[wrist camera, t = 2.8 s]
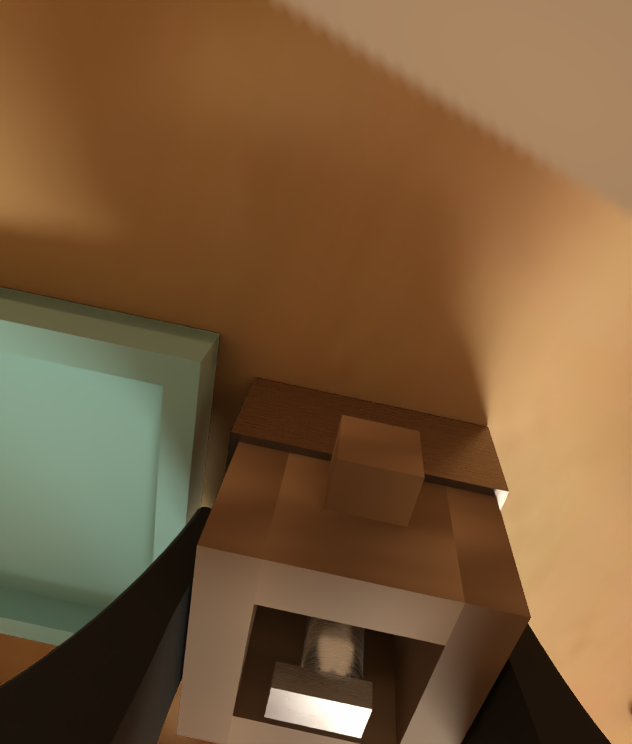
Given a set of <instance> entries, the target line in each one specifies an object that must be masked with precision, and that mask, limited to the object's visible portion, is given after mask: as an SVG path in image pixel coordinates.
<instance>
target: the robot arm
mask: <svg viewBox="0 0 632 744" xmlns="http://www.w3.org/2000/svg"><path fill="white" fill-rule="evenodd" d="M211 509H212V508H207V507H201V508H199V509H197V511H196V512H195V514H194V515H193V516H192V518H191V519H190V520H189V522H188V523H187V524H186V526H185V527H184V528H183V529H182V530H181V532H180V533H179V534H178V535H177V536H176V538H175V539H174V540H173V541H172V542H171V543H170V544H169V546H168V547H167V548H166V549H165V550H164V551H163V552H162V553H161V554H160V555H159V556H158V557H157V559H156V560H155V561H154V562H153V563H152V564H151V565H150V566H149V567H148V568H147V569H146V570H145V571H144V572H143V573H142V574H141V575H140V576H139V577H138V578H137V579H136V580H135V581H134V582H133V583H132V584H131V585H130V586H129V587H128V588H127V589H126V590H124V591H123V592H122V593H121V594H120V595H119V596H118V597H117V598H116V599H115V600H114V601H113V602H112V603H111V604H109V605H108V606H107V607H106V608H105V609H104V610H103V611H101V612H100V613H99V614H98V615H97V616H96V617H94V618H93V619H92V620H91V621H90V622H88V623H87V624H86V625H85V626H84V627H82V628H81V629H80V630H79V631H77V632H76V633H75V634H74V635H72V636H71V637H70V638H68V639H67V640H66V641H64V642H63V643H62V644H60V645H59V646H58V647H56V648H55V649H54V650H52V651H51V652H50V653H49V654H47V655H46V656H45V657H43V658H42V659H40V660H39V661H38V662H36V663H35V664H33V665H32V666H30V667H29V668H28V669H26V670H25V671H23V672H22V673H20V674H19V675H17V676H15V677H14V678H12V679H11V680H9V681H8V682H6V683H5V684H3V685H2V686H0V744H157V741H158V738H159V735H160V732H161V729H162V727H163V724H164V721H165V719H166V716H167V713H168V711H169V708H170V706H171V703H172V701H173V698H174V696H175V694H176V691H177V689H178V686H179V684H180V681H181V679H182V676H183V668H184V659H185V650H186V641H187V632H188V623H189V614H190V605H191V596H192V586H193V577H194V568H195V559H196V550H197V544H198V542H199V539H200V537H201V534H202V532H203V529H204V527H205V524H206V522H207V519H208V517H209V514H210V512H211ZM461 744H611V743H610V742H609V740H608V739H607V738H606V737H605V735H604V734H603V733H602V732H601V730H600V729H599V728H598V726H597V725H596V724H595V723H594V721H593V720H592V719H591V717H590V716H589V715H588V713H587V712H586V710H585V709H584V708H583V706H582V705H581V704H580V702H579V701H578V699H577V698H576V696H575V695H574V694H573V692H572V691H571V689H570V688H569V686H568V685H567V684H566V682H565V681H564V679H563V678H562V676H561V675H560V673H559V672H558V670H557V669H556V667H555V666H554V664H553V663H552V661H551V659H550V658H549V656H548V655H547V653H546V652H545V650H544V648H543V647H542V645H541V644H540V642H539V641H538V639H537V637H536V636H535V634H534V632H533V631H532V629H531V628H530V626H529V624H527V625H526V627H525V629H524V631H523V633H522V634H521V636H520V638H519V640H518V642H517V643H516V645H515V647H514V649H513V651H512V652H511V654H510V656H509V658H508V660H507V661H506V663H505V665H504V667H503V669H502V670H501V672H500V674H499V676H498V678H497V679H496V681H495V683H494V685H493V687H492V688H491V690H490V692H489V694H488V696H487V697H486V699H485V701H484V703H483V705H482V706H481V708H480V710H479V712H478V714H477V715H476V717H475V719H474V721H473V723H472V724H471V726H470V728H469V730H468V732H467V733H466V735H465V737H464V739H463V741H462V742H461Z"/></svg>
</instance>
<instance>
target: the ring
mask: <svg viewBox="0 0 632 744" xmlns="http://www.w3.org/2000/svg"><path fill="white" fill-rule="evenodd" d="M424 478H425V476H424V467H423V458H422V450H421V441H420V432H419V431H416V430H411V429H407V428H402V427H397V426H393V425H388V424H383V423H379V422H374V421H369V420H364V419H360V418H355V417H350V416H346V415H342V417H341V421H340V425H339V429H338V433H337V437H336V441H335V446H334V450H333V454H332V458H331V461H326V460H321V459H317V458H312V457H308V456H303V455H298V454H294V453H289V452H284V451H280V450H275V449H270V448H266V447H261V446H256V445H252V444H247V443H242V442H239V443H238V445H237V448H236V450H235V453H234V455H233V457H232V460H231V462H230V465H229V467H228V470H227V472H226V475H225V477H224V480H223V482H222V485H221V487H220V490H219V492H218V495H217V497H216V500H215V502H214V505H213V507H212V509H211V512H210V514H209V517H208V519H207V522H206V524H205V527H204V529H203V532H202V534H201V537H200V539H199V542H198V544H197V550H196V559H195V568H194V577H193V586H192V596H191V605H190V614H189V623H188V632H187V641H186V650H185V659H184V668H183V677H182V686H181V695H180V705H179V714H178V723H177V732H176V735H181V736H185V737H190V738H195V739H199V740H204V741H208V742H213V743H217V744H461V742H462V741H463V739H464V737H465V735H466V733H467V732H468V730H469V728H470V726H471V724H472V723H473V721H474V719H475V717H476V715H477V714H478V712H479V710H480V708H481V706H482V705H483V703H484V701H485V699H486V697H487V696H488V694H489V692H490V690H491V688H492V687H493V685H494V683H495V681H496V679H497V678H498V676H499V674H500V672H501V670H502V669H503V667H504V665H505V663H506V661H507V660H508V658H509V656H510V654H511V652H512V651H513V649H514V647H515V645H516V643H517V642H518V640H519V638H520V636H521V634H522V633H523V631H524V629H525V627H526V625H527V624H528V622H529V620H530V618H531V616H530V613H529V609H528V606H527V602H526V599H525V595H524V592H523V588H522V585H521V581H520V578H519V574H518V571H517V567H516V564H515V560H514V557H513V553H512V550H511V546H510V543H509V539H508V536H507V532H506V529H505V525H504V522H503V518H502V515H501V511H500V508H499V504H498V501H497V497H494V496H489V495H485V494H480V493H475V492H471V491H466V490H461V489H457V488H452V487H447V486H443V485H438V484H433V483H429V482H424ZM308 616H311V617H316V618H320V619H325V620H330V621H334V622H339V623H344V624H348V625H353V626H357V627H362V628H364V654H363V680H365V681H369V682H372V711H371V714H370V716H369V719H368V721H367V724H366V726H365V729H364V731H363V734H362V736H361V738H358V737H353V736H349V735H344V734H339V733H335V732H330V731H326V730H321V729H317V728H312V727H307V726H303V725H298V724H294V723H289V722H285V721H280V720H275V719H271V718H266V717H264V715H265V710H266V705H267V699H268V694H269V689H270V685H271V680H272V676H273V672H274V668H275V664H276V661H277V662H282V663H287V664H291V665H296V666H300V667H301V661H302V654H303V647H304V639H305V632H306V625H307V618H308Z"/></svg>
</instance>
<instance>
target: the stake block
mask: <svg viewBox="0 0 632 744" xmlns="http://www.w3.org/2000/svg"><path fill="white" fill-rule="evenodd" d="M342 415H346V416H350V417H355V418H360V419H364V420H369V421H374V422H379V423H383V424H388V425H393V426H397V427H402V428H407V429H411V430H416V431H419V432H420V441H421V450H422V458H423V467H424V476H425V478H424V482H429V483H433V484H438V485H443V486H447V487H452V488H457V489H461V490H466V491H471V492H475V493H480V494H485V495H489V496H494V497H497V501H498V504H499V508H500V510H501V508H502V506H503V504H504V502H505V499H506V497H507V495H508V493H509V491H508V487H507V484H506V481H505V478H504V475H503V472H502V469H501V466H500V463H499V459H498V456H497V453H496V450H495V447H494V444H493V441H492V438H491V435H490V431H489V428H488V427H485V426H480V425H475V424H471V423H466V422H461V421H457V420H452V419H447V418H443V417H438V416H433V415H429V414H424V413H419V412H414V411H410V410H405V409H400V408H396V407H391V406H386V405H382V404H377V403H372V402H368V401H363V400H358V399H354V398H349V397H344V396H340V395H335V394H330V393H325V392H321V391H316V390H311V389H307V388H302V387H297V386H293V385H288V384H283V383H279V382H274V381H269V380H265V379H260V378H254V380H253V383H252V385H251V387H250V389H249V392H248V394H247V396H246V398H245V401H244V403H243V405H242V408H241V410H240V412H239V414H238V417H237V419H236V421H235V423H234V426H233V428H232V430H231V434H230V441H229V449H228V456H227V464H226V471H225V475H226V472H227V470H228V467H229V465H230V462H231V460H232V457H233V455H234V453H235V450H236V448H237V445H238V443H239V442H242V443H247V444H252V445H256V446H261V447H266V448H270V449H275V450H280V451H284V452H289V453H294V454H298V455H303V456H308V457H312V458H317V459H321V460H326V461H331V458H332V454H333V450H334V446H335V441H336V437H337V433H338V429H339V425H340V421H341V417H342ZM363 654H364V628H362V627H357V626H353V625H348V624H344V623H339V622H334V621H330V620H325V619H320V618H316V617H311V616H308V618H307V625H306V632H305V639H304V647H303V654H302V661H301V667H300V666H296V665H291V664H287V663H282V662H277V661H276V664H275V668H274V672H273V676H272V680H271V685H270V689H269V694H268V699H267V705H266V710H265V715H264V717H266V718H271V719H275V720H280V721H285V722H289V723H294V724H298V725H303V726H307V727H312V728H317V729H321V730H326V731H330V732H335V733H339V734H344V735H349V736H353V737H358V738H361V736H362V734H363V731H364V729H365V726H366V724H367V721H368V719H369V716H370V714H371V711H372V682H369V681H365V680H363Z"/></svg>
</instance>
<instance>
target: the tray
mask: <svg viewBox="0 0 632 744" xmlns="http://www.w3.org/2000/svg"><path fill="white" fill-rule="evenodd" d="M219 337H220V333H215V332H211V331H206V330H201V329H196V328H192V327H187V326H182V325H178V324H173V323H168V322H164V321H159V320H154V319H149V318H145V317H140V316H135V315H131V314H126V313H121V312H117V311H112V310H107V309H102V308H98V307H93V306H88V305H84V304H79V303H74V302H70V301H65V300H60V299H55V298H51V297H46V296H41V295H37V294H32V293H27V292H23V291H18V290H13V289H9V288H4V287H0V633H1V634H5V635H10V636H15V637H19V638H24V639H28V640H33V641H37V642H42V643H47V644H51V645H56V646H59V645H60V644H62V643H63V642H64V641H66V640H67V639H68V638H70V637H71V636H72V635H74V634H75V633H76V632H77V631H79V630H80V629H81V628H82V627H84V626H85V625H86V624H87V623H88V622H90V621H91V620H92V619H93V618H94V617H96V616H97V615H98V614H99V613H100V612H101V611H103V610H104V609H105V608H106V607H107V606H108V605H109V604H111V603H112V602H113V601H114V600H115V599H116V598H117V597H118V596H119V595H120V594H121V593H122V592H123V591H124V590H126V589H127V588H128V587H129V586H130V585H131V584H132V583H133V582H134V581H135V580H136V579H137V578H138V577H139V576H140V575H141V574H142V573H143V572H144V571H145V570H146V569H147V568H148V567H149V566H150V565H151V564H152V563H153V562H154V561H155V560H156V559H157V557H158V556H159V555H160V554H161V553H162V552H163V551H164V550H165V549H166V548H167V547H168V546H169V544H170V543H171V542H172V541H173V540H174V539H175V538H176V536H177V535H178V534H179V533H180V532H181V530H182V529H183V528H184V527H185V526H186V524H187V523H188V522H189V520H190V519H191V518H192V516H193V515H194V514H195V512H196V511H197V509H199V508H201V501H202V492H203V483H204V474H205V465H206V456H207V447H208V437H209V428H210V419H211V410H212V401H213V392H214V383H215V374H216V365H217V355H218V346H219Z"/></svg>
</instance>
